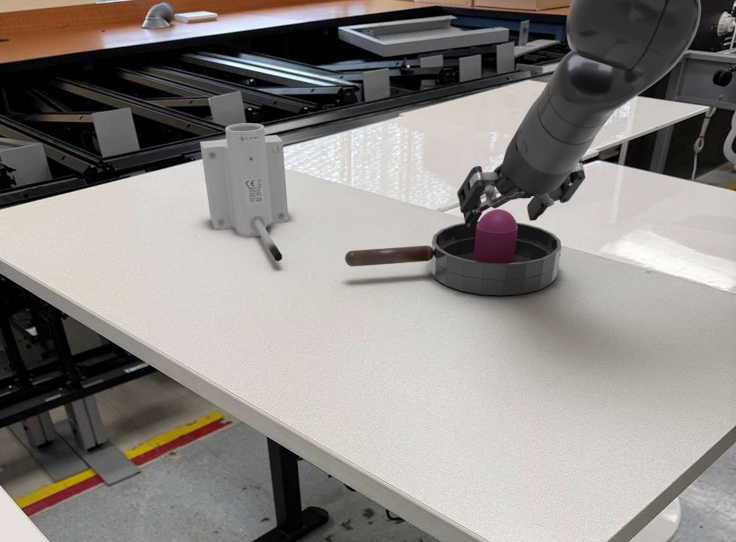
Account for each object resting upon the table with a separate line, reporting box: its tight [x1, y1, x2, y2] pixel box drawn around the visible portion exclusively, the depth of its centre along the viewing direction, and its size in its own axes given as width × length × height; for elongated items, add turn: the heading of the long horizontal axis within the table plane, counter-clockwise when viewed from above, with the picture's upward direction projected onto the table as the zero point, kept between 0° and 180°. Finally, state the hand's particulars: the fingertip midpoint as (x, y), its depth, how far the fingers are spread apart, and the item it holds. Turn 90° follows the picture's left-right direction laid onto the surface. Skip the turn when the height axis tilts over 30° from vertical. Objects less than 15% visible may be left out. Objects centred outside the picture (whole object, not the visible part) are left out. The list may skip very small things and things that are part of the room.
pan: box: [429, 220, 562, 296], centre depth 97 cm, size 17×17×4 cm
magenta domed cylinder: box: [474, 208, 518, 263], centre depth 96 cm, size 5×5×8 cm
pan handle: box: [344, 245, 434, 268], centre depth 95 cm, size 12×2×2 cm, turn 98°
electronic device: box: [199, 122, 289, 262], centre depth 105 cm, size 12×26×15 cm, turn 17°
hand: (499, 217), depth 93 cm, fingers open, 8 cm apart
